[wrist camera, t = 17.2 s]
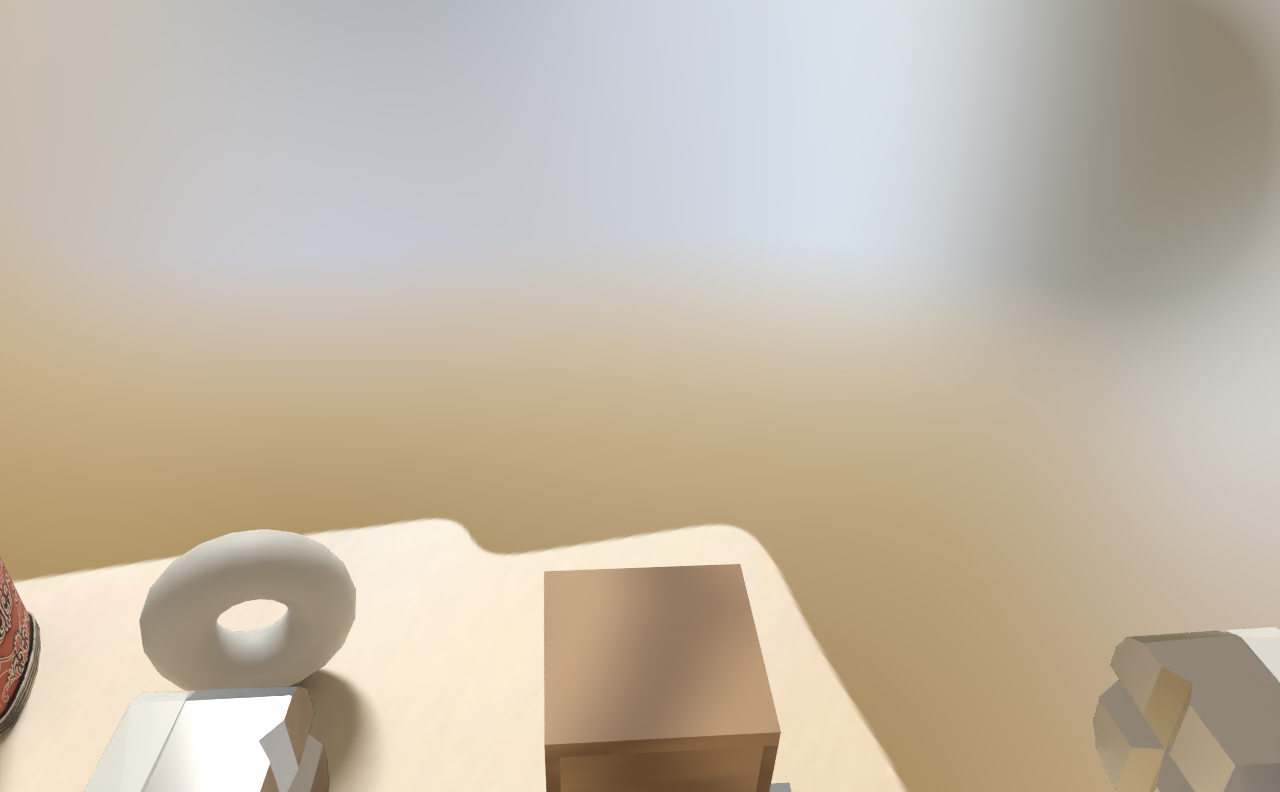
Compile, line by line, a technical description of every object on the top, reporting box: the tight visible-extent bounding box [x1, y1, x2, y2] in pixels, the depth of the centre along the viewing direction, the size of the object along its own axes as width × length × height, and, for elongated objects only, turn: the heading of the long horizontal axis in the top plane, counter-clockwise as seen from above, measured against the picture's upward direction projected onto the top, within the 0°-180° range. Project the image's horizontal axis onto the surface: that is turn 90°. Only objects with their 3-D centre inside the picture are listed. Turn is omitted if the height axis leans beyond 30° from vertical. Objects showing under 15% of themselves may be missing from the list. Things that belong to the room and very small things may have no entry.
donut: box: [140, 529, 356, 691], centre depth 47 cm, size 10×4×10 cm, turn 113°
